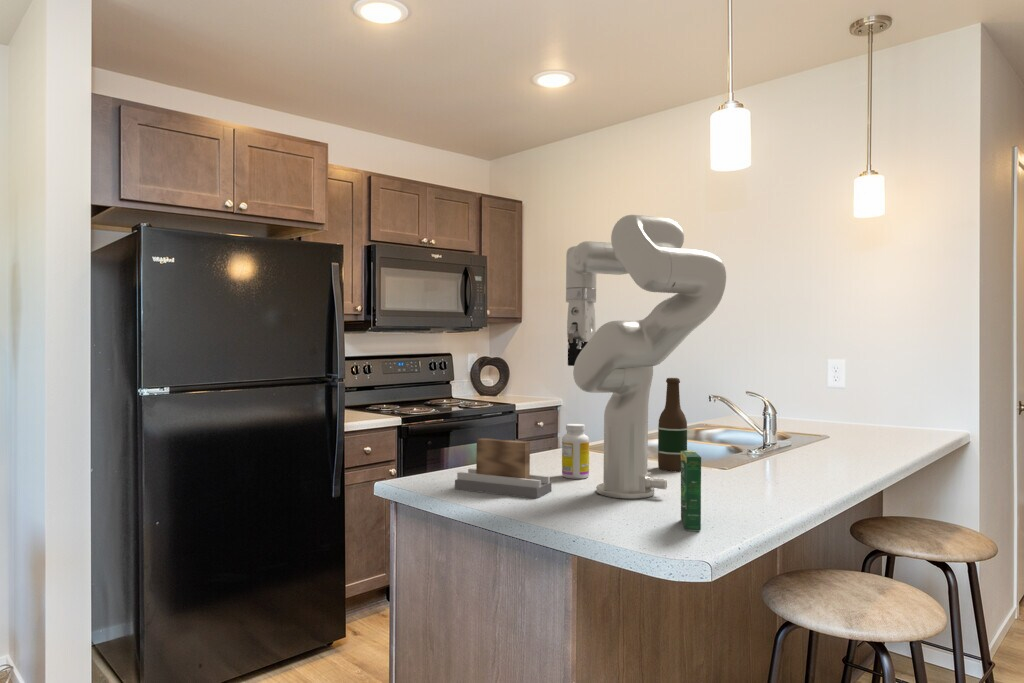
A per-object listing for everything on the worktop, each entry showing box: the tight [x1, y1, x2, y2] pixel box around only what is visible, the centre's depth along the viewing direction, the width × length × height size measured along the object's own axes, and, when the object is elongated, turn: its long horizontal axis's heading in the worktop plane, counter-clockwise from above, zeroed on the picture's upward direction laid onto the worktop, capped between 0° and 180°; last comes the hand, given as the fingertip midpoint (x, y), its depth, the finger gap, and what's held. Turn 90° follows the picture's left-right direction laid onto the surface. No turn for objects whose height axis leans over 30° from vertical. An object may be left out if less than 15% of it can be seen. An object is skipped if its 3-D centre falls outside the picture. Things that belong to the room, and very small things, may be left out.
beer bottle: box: [657, 377, 688, 473], centre depth 177 cm, size 8×8×24 cm
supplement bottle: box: [561, 423, 590, 480], centre depth 165 cm, size 7×7×13 cm
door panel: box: [475, 437, 531, 479], centre depth 149 cm, size 12×2×9 cm, turn 64°
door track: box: [454, 467, 553, 499], centre depth 149 cm, size 20×8×4 cm, turn 64°
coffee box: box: [680, 450, 702, 532], centre depth 122 cm, size 8×3×13 cm, turn 172°
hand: (580, 365), depth 167 cm, fingers open, 9 cm apart
